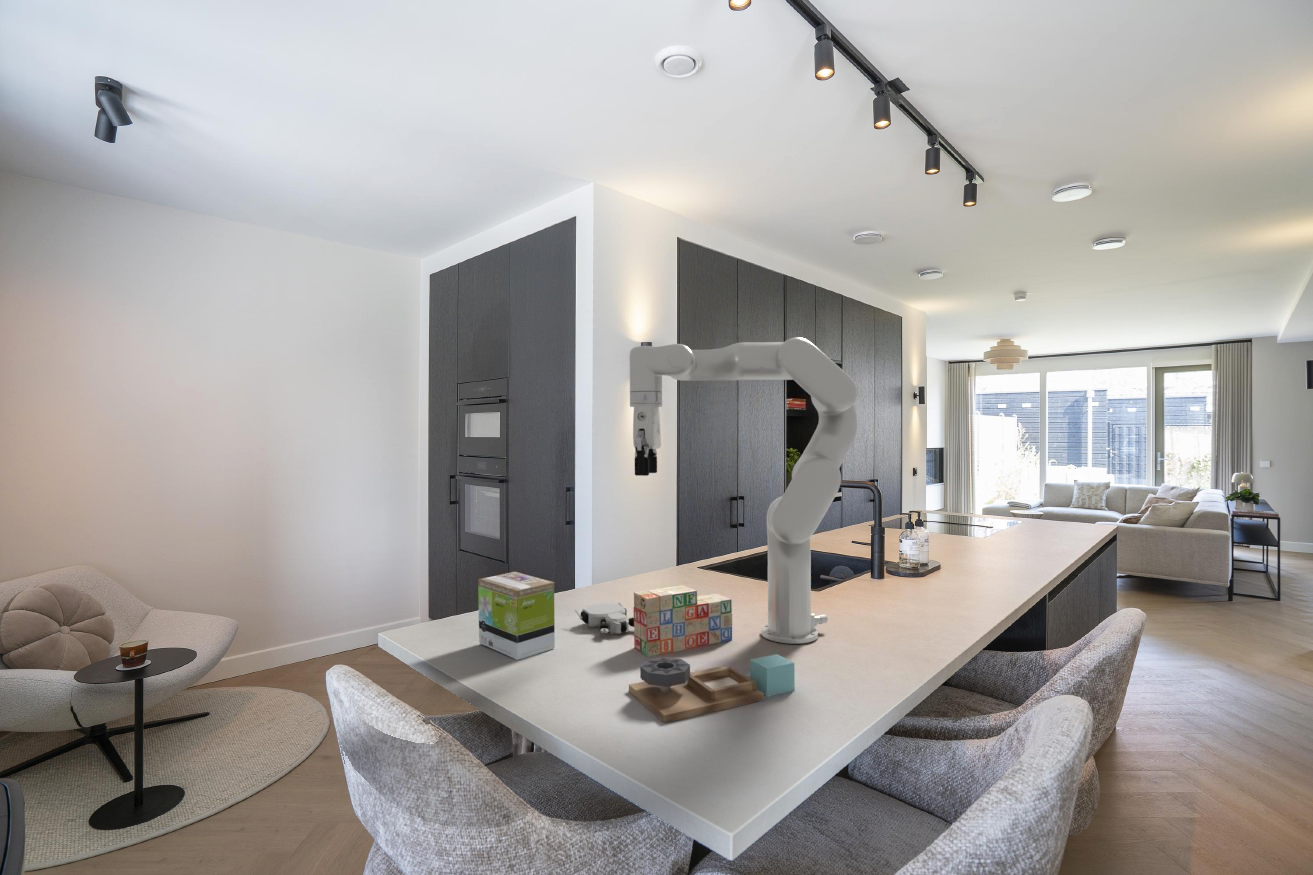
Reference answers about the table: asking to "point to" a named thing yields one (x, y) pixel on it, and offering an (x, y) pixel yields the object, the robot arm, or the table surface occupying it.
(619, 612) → the robot toy
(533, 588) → the tea box
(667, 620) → the stack of blocks
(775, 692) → the teal nearly cubic block
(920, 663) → the table surface
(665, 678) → the wheel
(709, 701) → the chassis
